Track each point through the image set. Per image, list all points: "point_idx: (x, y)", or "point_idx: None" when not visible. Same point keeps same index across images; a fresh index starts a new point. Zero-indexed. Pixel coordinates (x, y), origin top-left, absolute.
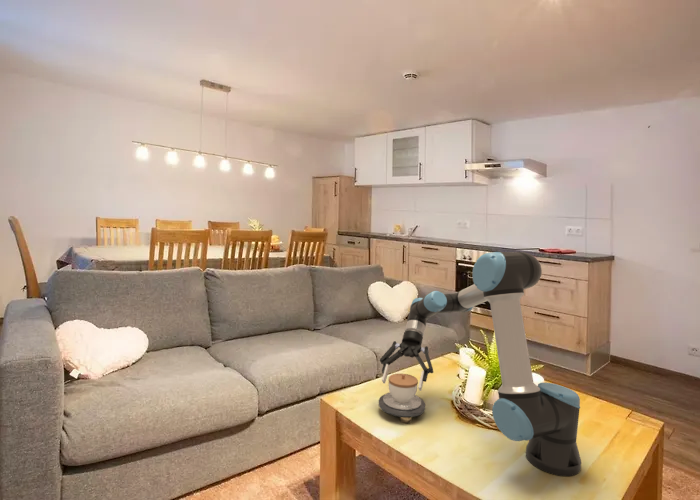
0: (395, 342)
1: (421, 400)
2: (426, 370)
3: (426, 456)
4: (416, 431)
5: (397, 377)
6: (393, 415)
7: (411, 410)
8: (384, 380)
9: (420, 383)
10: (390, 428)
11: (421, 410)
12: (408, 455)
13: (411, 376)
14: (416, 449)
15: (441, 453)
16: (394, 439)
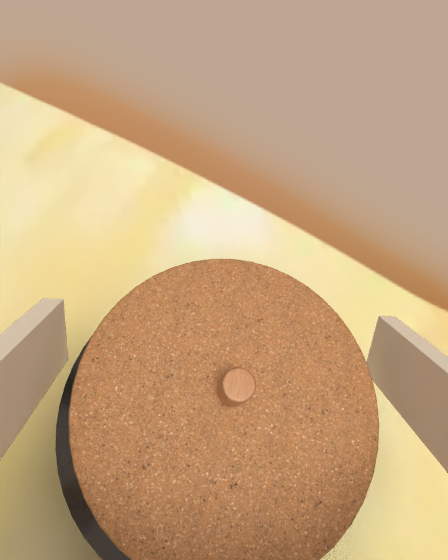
0: None
1: (85, 504)
2: None
3: (66, 146)
4: (110, 269)
5: (294, 392)
6: None
7: None
8: (378, 339)
9: (31, 316)
10: (214, 254)
11: (80, 354)
12: (122, 138)
13: (155, 518)
14: (100, 168)
15: (13, 171)
16: (182, 196)
